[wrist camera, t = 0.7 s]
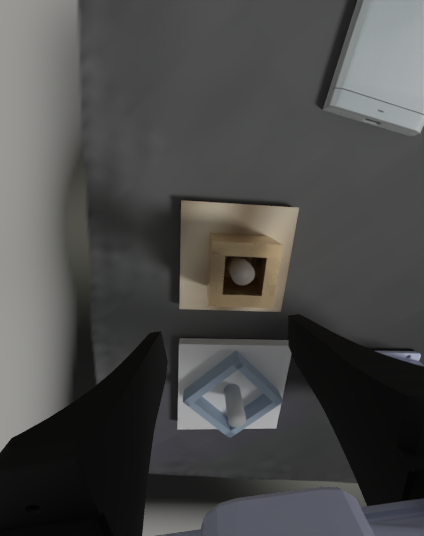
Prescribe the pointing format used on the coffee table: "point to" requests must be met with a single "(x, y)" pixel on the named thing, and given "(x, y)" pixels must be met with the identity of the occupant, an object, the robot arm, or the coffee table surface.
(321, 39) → the coffee table surface
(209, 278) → the tan square ring block
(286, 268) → the stand
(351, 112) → the hard drive
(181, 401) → the white peg base
